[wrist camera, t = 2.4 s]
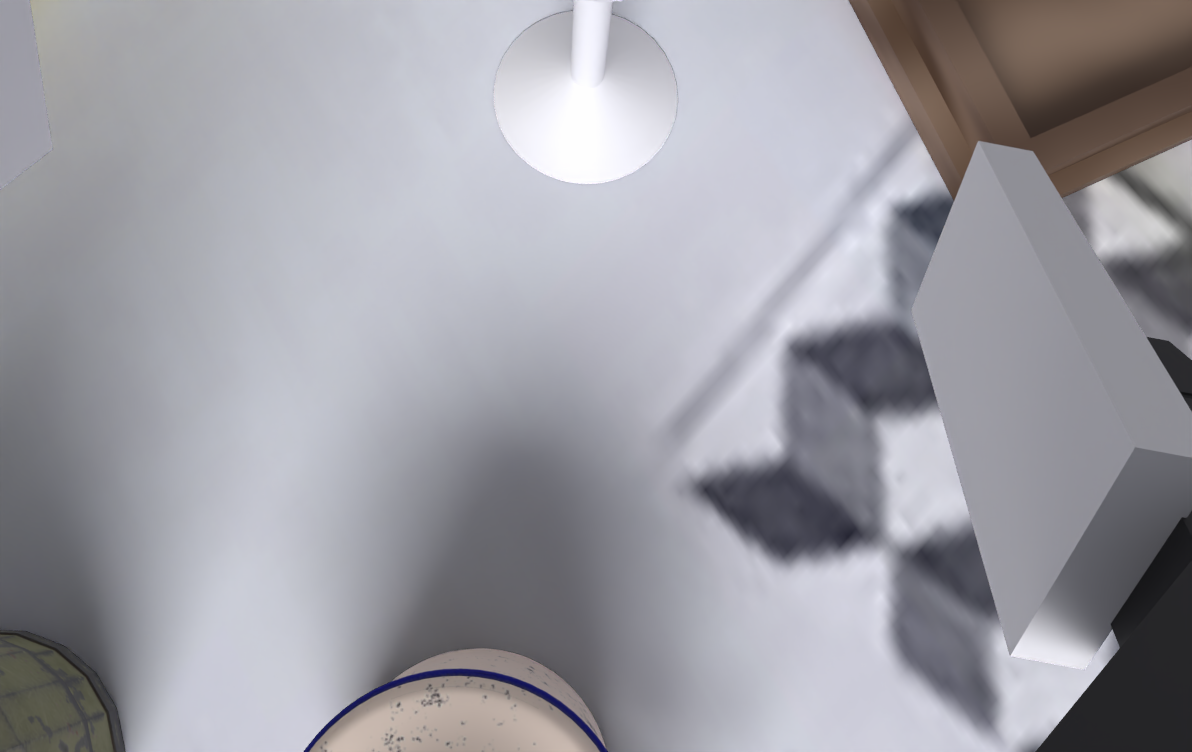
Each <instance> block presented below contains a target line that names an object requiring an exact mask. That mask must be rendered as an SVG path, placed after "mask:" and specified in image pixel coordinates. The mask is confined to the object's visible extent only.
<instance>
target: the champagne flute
mask: <svg viewBox="0 0 1192 752" xmlns="http://www.w3.org/2000/svg"><path fill="white" fill-rule="evenodd" d="M613 1H623V0H574V5H573V11H568V12H563V13H558V14H555V15H552V16H550V17H547V18H545V19H543V20H540V21H538V22H537V23H535V24H534V25H532V26H531V27H529V28H528V29H526V30H525V31H524V32H523V33H522V34H521V35H520V36H519V37H518V38H517V39H516V40H515V41H514V42H513V43H512V44H511V46H510V47H509V49H508V50H507V52H506V53H505V55H504V56H503V58H502V61H501V63H500V65H499V68H498V70H497V73H496V79H495V84H494V108H495V113H496V117H497V121H498V124H499V126H500V128H501V131H502V133H503V135H504V137H505V139H506V140H507V142H508V143H509V144H510V146H511V147H512V148H513V150H514V151H515V152H516V154H517V155H518V156H520V157H521V158H522V159H523V160H524V161H525V162H526V163H527V164H529V165H530V166H531V167H533V168H535V169H536V170H538V171H540V172H541V173H543V174H545V175H547V176H550V177H553V178H555V179H558V180H561V181H565V182H571V183H577V184H599V183H604V182H608V181H613V180H617V179H619V178H622V177H624V176H626V175H629V174H631V173H633V172H635V171H636V170H638V169H639V168H640V167H642V166H643V165H645V164H646V163H648V162H649V161H650V160H651V159H652V158H653V157H654V156H655V154H656V153H657V152H658V151H659V150H660V149H661V147H662V146H663V144H664V143H665V141H666V139H667V138H668V136H669V135H670V132H671V129H672V126H673V124H674V121H675V117H676V111H677V104H678V98H677V84H676V81H675V77H674V73H673V70H672V67H671V65H670V63H669V61H668V59H667V57H666V55H665V53H664V52H663V51H662V49H661V48H660V47H659V46H658V44H657V43H656V42H655V40H654V39H653V38H652V37H650V36H649V35H648V34H647V33H646V32H645V31H643V30H642V29H641V28H640V27H638V26H636V25H635V24H633V23H631V22H630V21H628V20H626V19H624V18H621V17H618V16H616V15H613V14H612V5H613Z"/></svg>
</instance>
